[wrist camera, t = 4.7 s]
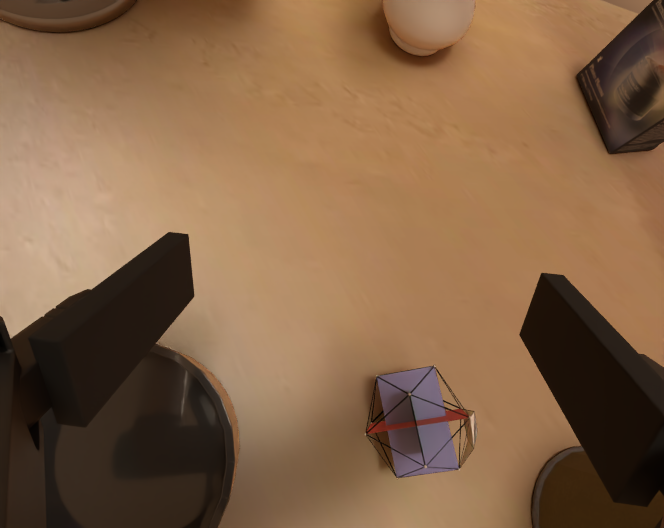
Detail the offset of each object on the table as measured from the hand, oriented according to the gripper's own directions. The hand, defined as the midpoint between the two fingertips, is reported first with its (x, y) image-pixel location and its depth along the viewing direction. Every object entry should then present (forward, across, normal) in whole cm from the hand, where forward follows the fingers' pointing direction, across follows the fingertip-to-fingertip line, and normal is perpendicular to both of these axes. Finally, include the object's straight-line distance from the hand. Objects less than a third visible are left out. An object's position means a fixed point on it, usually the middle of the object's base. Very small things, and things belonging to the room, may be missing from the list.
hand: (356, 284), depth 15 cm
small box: (+37, +27, +6) cm, 46 cm away
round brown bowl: (+3, -14, -17) cm, 22 cm away
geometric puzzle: (+9, +5, -16) cm, 19 cm away
